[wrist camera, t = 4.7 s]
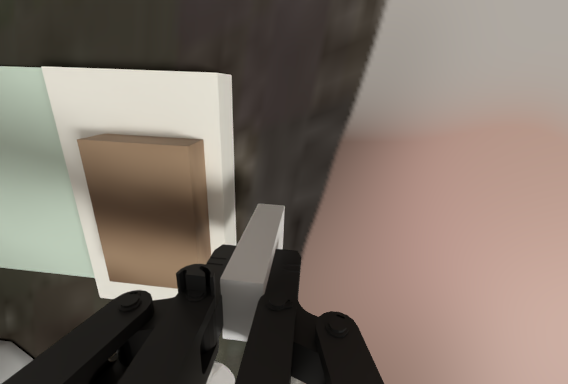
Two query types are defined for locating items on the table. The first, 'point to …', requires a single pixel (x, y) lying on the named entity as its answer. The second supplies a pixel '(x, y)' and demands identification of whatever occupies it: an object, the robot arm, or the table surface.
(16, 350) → the flask
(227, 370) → the wineglass
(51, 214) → the mat
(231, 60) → the table surface
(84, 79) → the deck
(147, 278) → the walnut tile
